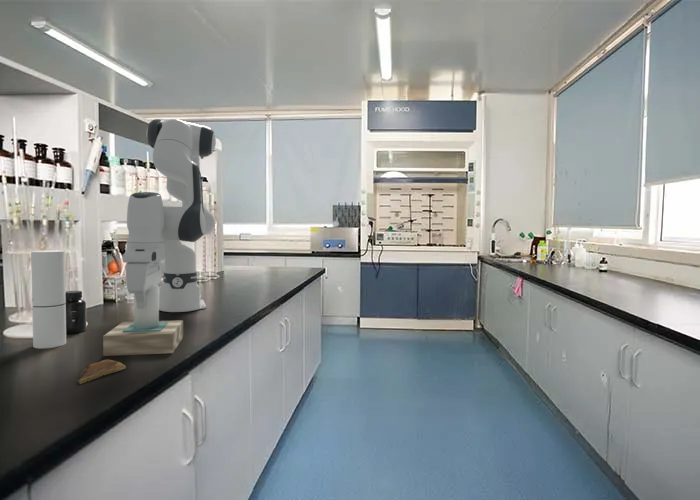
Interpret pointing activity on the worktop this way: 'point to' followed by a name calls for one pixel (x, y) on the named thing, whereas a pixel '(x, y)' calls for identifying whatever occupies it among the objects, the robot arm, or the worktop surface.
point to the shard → (100, 370)
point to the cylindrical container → (48, 298)
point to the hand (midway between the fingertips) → (146, 304)
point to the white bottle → (148, 310)
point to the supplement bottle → (75, 312)
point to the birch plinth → (143, 339)
